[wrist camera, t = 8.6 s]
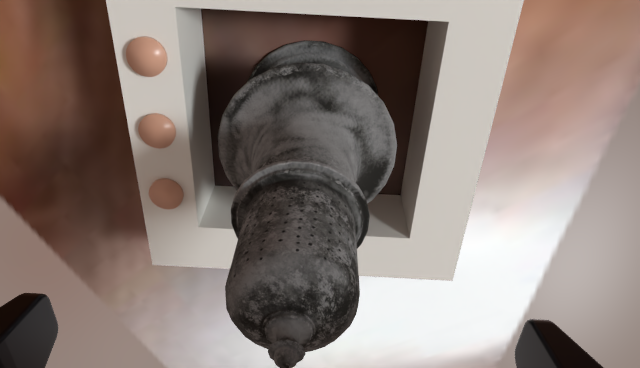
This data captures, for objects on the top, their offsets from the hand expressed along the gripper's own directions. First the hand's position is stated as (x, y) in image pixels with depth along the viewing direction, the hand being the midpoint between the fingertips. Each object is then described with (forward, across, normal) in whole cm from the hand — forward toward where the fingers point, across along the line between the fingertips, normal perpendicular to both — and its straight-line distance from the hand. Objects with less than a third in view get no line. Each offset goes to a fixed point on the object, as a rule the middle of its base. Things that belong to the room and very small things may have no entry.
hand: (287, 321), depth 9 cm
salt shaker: (+11, 0, 0) cm, 11 cm away
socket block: (+11, 0, 0) cm, 11 cm away
